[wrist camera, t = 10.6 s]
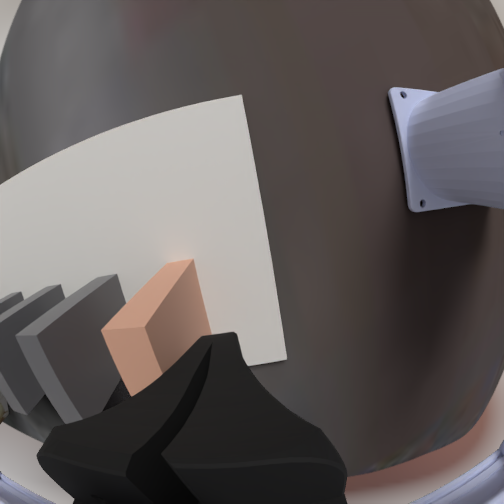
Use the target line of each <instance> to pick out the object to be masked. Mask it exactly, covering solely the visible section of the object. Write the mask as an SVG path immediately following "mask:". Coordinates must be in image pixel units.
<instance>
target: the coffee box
mask: <svg viewBox="0 0 504 504" xmlns="http://www.w3.org/2000/svg"><path fill="white" fill-rule="evenodd" d="M8 414H9V411H8V405H7V400H6V399H5V397H4V396H3V394H2V392H1V391H0V424H1V423H2V421H3V420H4V419H5V418H6V417H7V415H8Z"/></svg>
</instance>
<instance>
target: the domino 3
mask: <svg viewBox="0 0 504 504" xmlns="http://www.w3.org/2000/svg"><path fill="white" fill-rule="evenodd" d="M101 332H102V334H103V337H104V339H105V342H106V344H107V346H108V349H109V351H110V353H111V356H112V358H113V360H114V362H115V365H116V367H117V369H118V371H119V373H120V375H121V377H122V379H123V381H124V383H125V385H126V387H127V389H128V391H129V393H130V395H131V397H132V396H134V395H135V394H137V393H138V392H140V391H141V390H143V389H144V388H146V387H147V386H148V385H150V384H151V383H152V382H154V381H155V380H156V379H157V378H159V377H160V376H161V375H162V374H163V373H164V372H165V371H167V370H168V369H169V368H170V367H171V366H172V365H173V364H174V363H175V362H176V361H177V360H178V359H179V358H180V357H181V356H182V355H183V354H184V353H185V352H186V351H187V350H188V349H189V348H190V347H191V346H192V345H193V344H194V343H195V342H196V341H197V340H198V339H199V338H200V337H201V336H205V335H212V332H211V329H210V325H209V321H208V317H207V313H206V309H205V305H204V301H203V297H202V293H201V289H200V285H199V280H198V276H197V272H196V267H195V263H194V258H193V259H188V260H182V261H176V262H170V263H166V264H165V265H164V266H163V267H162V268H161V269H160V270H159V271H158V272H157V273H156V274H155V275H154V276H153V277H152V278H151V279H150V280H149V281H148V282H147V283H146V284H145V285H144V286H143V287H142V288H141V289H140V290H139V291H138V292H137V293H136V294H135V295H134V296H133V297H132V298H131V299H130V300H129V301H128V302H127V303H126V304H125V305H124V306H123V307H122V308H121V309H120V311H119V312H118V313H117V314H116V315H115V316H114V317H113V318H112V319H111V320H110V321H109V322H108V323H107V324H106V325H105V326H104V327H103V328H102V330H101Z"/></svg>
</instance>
